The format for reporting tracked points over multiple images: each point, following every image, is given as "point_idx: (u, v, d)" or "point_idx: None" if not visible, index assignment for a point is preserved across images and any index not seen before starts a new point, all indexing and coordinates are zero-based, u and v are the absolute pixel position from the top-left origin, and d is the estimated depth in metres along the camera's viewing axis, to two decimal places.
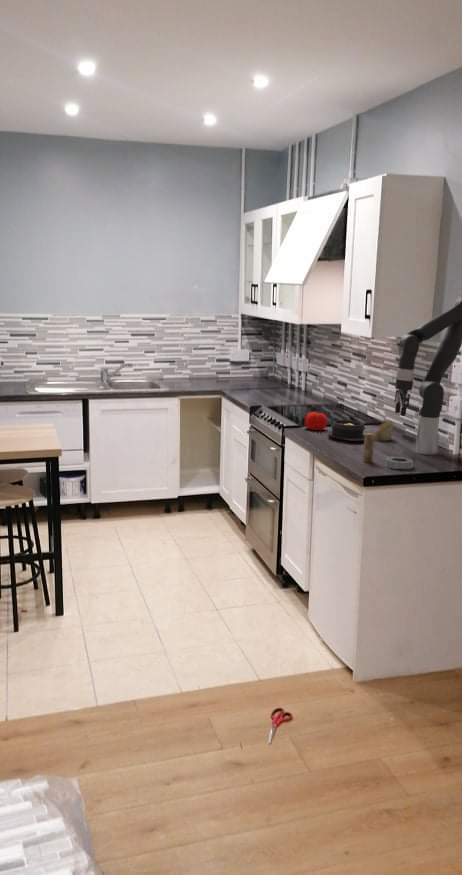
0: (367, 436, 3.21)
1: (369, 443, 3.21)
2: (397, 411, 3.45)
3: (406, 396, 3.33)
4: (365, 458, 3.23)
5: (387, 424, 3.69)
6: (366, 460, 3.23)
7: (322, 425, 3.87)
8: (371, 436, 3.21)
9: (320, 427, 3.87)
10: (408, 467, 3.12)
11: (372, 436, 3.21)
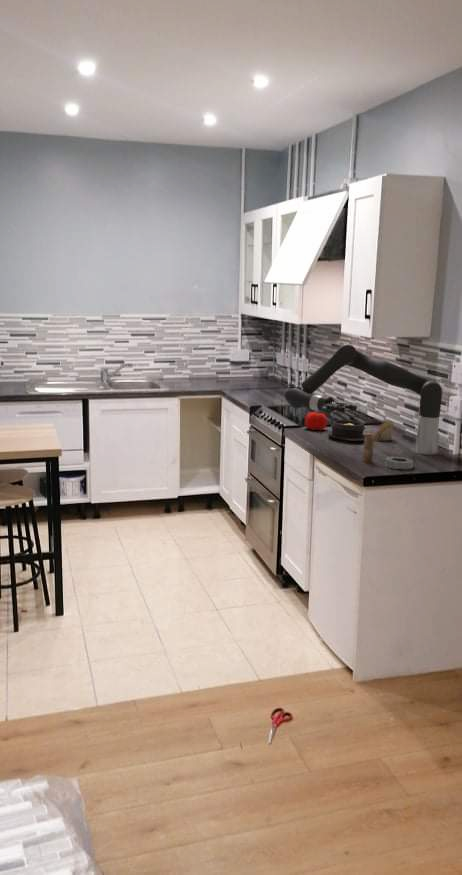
0: (367, 436, 3.21)
1: (369, 443, 3.21)
2: (354, 408, 3.31)
3: (324, 407, 3.30)
4: (365, 458, 3.23)
5: (387, 424, 3.69)
6: (366, 460, 3.23)
7: (322, 425, 3.87)
8: (371, 436, 3.21)
9: (320, 427, 3.87)
10: (408, 467, 3.12)
11: (372, 436, 3.21)
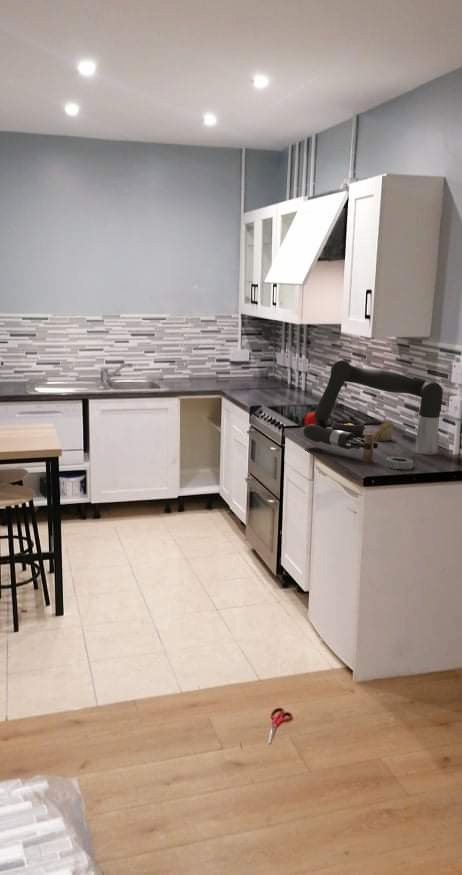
0: (367, 436, 3.21)
1: (369, 443, 3.21)
2: (375, 446, 3.23)
3: (348, 445, 3.23)
4: (365, 458, 3.23)
5: (387, 424, 3.69)
6: (366, 460, 3.23)
7: None
8: (371, 436, 3.20)
9: None
10: (408, 467, 3.12)
11: (372, 436, 3.21)
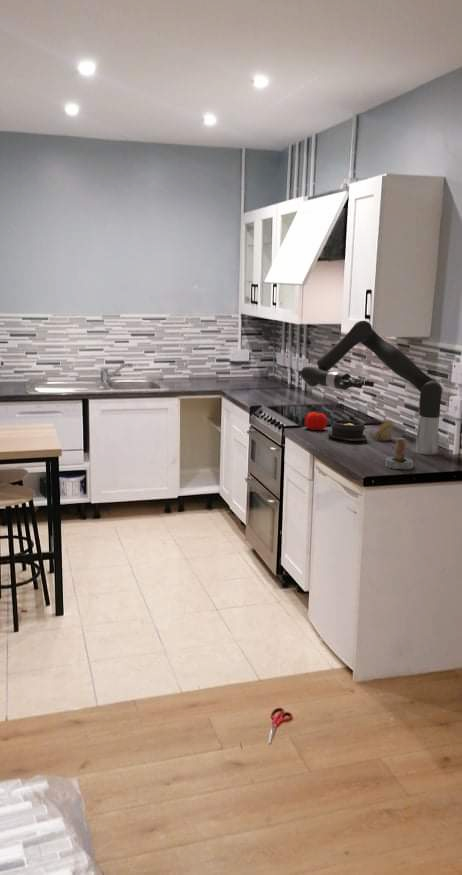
0: (399, 441, 3.13)
1: (401, 448, 3.13)
2: (371, 384, 3.31)
3: (341, 384, 3.29)
4: None
5: (387, 424, 3.69)
6: None
7: (322, 425, 3.87)
8: (403, 441, 3.13)
9: (320, 427, 3.87)
10: (408, 467, 3.12)
11: (404, 441, 3.13)
